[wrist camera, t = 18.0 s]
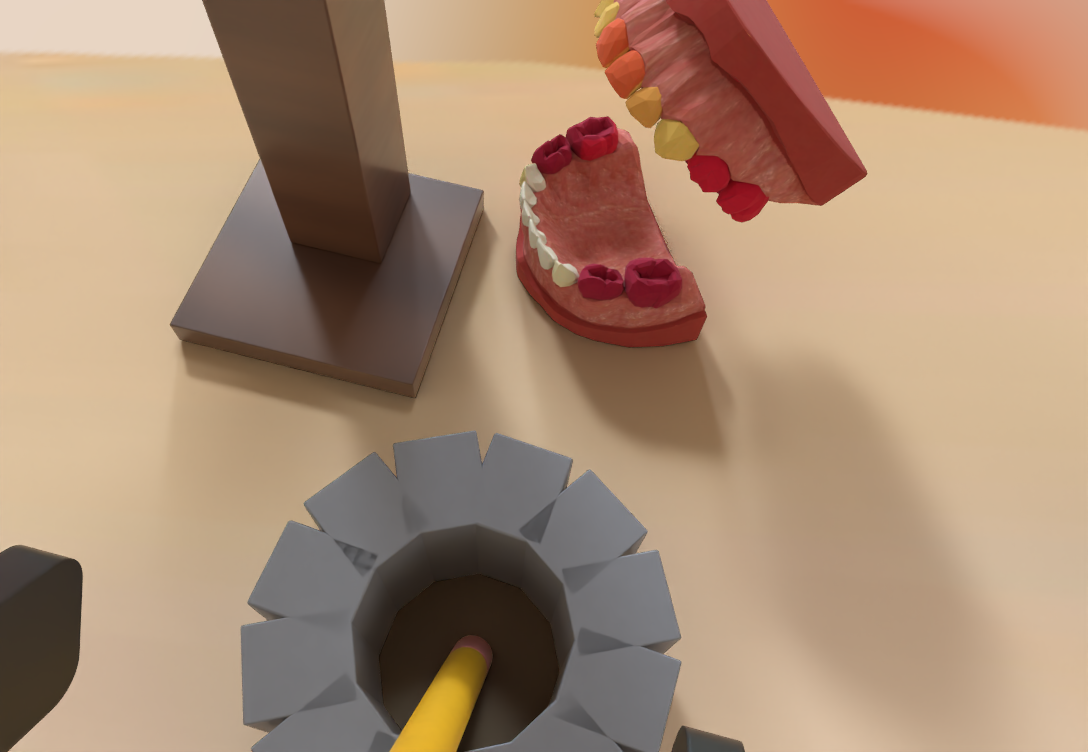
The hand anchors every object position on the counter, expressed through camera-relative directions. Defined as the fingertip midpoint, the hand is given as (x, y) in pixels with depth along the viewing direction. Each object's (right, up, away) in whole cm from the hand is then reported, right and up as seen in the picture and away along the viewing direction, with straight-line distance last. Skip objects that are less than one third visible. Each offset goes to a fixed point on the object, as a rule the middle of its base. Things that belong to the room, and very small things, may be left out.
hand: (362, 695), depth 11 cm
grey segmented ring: (0, -6, +18) cm, 19 cm away
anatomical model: (+6, +9, +26) cm, 28 cm away
